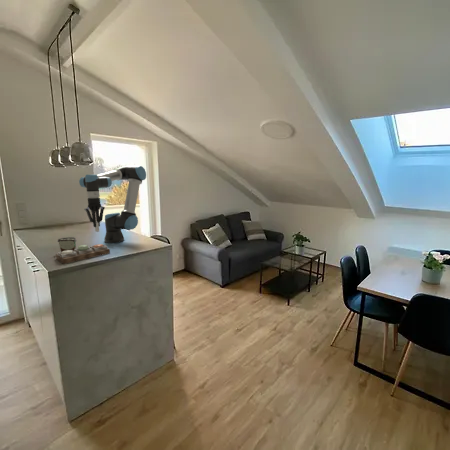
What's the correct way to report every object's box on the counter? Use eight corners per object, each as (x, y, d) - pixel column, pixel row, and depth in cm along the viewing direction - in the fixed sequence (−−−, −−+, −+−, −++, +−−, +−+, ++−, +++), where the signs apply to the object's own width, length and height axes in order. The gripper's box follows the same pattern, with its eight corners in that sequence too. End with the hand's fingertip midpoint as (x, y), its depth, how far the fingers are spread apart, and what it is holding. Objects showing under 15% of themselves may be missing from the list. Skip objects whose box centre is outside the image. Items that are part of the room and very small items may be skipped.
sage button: (86, 247, 182) (85, 244, 181) (89, 249, 178) (89, 245, 178) (76, 249, 177) (76, 246, 177) (80, 251, 174) (80, 247, 173)
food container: (81, 250, 193) (79, 236, 191) (76, 252, 186) (75, 238, 185) (63, 250, 192) (62, 237, 190) (58, 252, 186) (57, 239, 184)
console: (100, 249, 194) (100, 243, 193) (109, 253, 185) (109, 246, 184) (56, 259, 172) (55, 252, 171) (64, 263, 163) (63, 256, 162)
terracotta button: (100, 247, 190) (100, 243, 189) (104, 248, 186) (104, 245, 185) (92, 248, 185) (92, 245, 185) (96, 250, 181) (95, 246, 181)
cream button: (70, 253, 175) (70, 249, 174) (74, 254, 171) (73, 251, 170) (60, 255, 170) (60, 251, 170) (63, 257, 166) (63, 253, 166)
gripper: (85, 198, 172) (90, 233, 176) (105, 197, 181) (109, 230, 186) (81, 197, 176) (85, 232, 181) (100, 196, 186) (104, 229, 191)
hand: (97, 231), depth 184 cm, fingers closed
